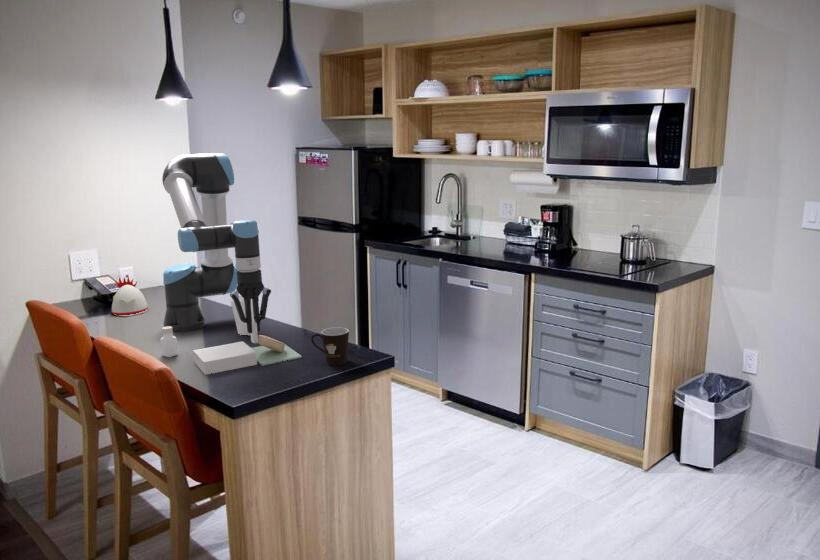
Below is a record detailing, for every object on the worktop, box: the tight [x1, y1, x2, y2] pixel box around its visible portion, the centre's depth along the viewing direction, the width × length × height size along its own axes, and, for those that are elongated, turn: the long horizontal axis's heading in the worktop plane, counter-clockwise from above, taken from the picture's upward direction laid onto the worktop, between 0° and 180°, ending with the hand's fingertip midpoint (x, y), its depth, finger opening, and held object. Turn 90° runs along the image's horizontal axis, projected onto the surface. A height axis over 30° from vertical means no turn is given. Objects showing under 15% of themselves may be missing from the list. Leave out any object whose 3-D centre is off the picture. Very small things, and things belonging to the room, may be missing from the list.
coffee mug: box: [310, 326, 350, 367], centre depth 211 cm, size 12×9×10 cm
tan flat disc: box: [257, 334, 286, 352], centre depth 220 cm, size 9×9×2 cm
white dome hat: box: [111, 276, 149, 315], centre depth 280 cm, size 14×14×15 cm
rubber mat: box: [250, 341, 302, 367], centre depth 221 cm, size 18×13×1 cm
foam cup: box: [230, 295, 254, 336], centre depth 245 cm, size 10×9×13 cm
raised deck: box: [192, 340, 258, 376], centre depth 213 cm, size 14×16×4 cm
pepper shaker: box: [160, 326, 179, 358], centre depth 222 cm, size 4×4×10 cm
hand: (254, 341), depth 217 cm, fingers closed
